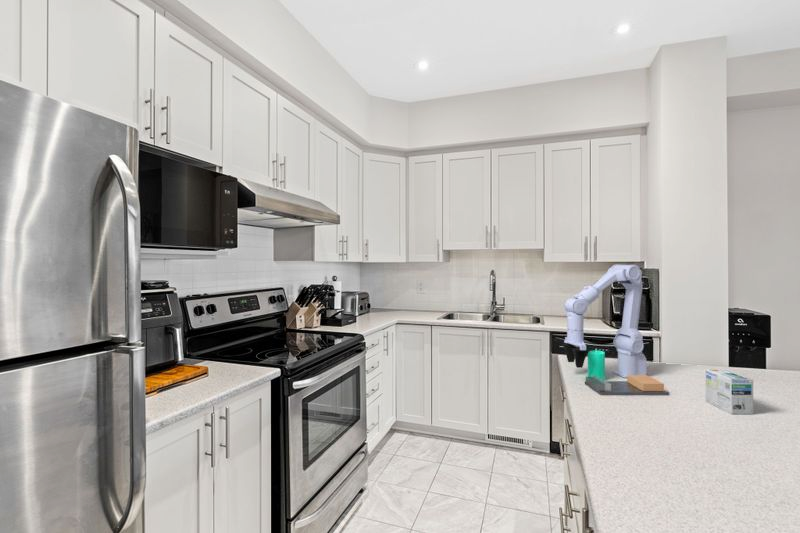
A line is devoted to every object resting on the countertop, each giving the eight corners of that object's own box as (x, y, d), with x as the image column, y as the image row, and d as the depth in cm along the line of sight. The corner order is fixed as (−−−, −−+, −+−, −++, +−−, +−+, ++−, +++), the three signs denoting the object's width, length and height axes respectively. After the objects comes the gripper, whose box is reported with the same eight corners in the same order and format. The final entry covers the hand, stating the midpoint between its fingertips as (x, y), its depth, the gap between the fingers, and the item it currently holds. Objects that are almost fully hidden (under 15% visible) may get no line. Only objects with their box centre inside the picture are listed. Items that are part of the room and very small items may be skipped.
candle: (600, 376, 155) (601, 346, 154) (607, 381, 149) (607, 350, 148) (585, 376, 155) (585, 346, 155) (590, 381, 149) (591, 349, 149)
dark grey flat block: (647, 383, 146) (647, 374, 145) (668, 395, 134) (668, 385, 133) (584, 383, 146) (584, 374, 146) (600, 395, 134) (600, 385, 134)
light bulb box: (754, 414, 117) (754, 378, 117) (731, 414, 117) (731, 378, 117) (725, 401, 128) (725, 368, 127) (704, 401, 128) (704, 368, 127)
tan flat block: (646, 381, 145) (646, 375, 144) (664, 391, 135) (664, 383, 134) (627, 381, 145) (627, 375, 145) (643, 391, 135) (643, 383, 135)
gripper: (557, 326, 159) (557, 359, 159) (572, 333, 144) (572, 369, 145) (575, 326, 159) (575, 359, 159) (592, 333, 144) (591, 369, 145)
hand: (575, 364), depth 152 cm, fingers open, 7 cm apart
